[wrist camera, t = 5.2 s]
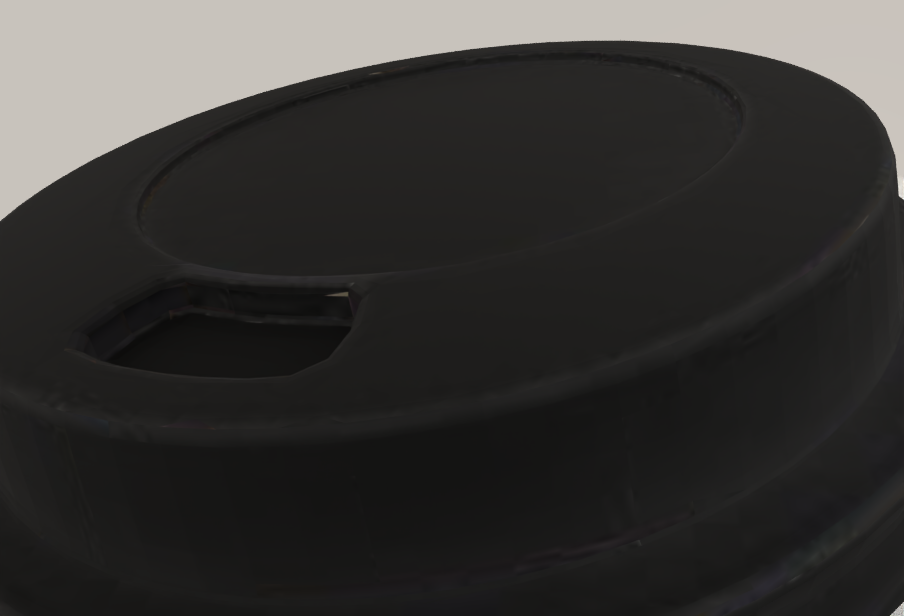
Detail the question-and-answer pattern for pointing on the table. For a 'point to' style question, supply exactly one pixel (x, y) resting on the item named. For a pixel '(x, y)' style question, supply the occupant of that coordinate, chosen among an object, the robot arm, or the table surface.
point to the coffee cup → (466, 349)
